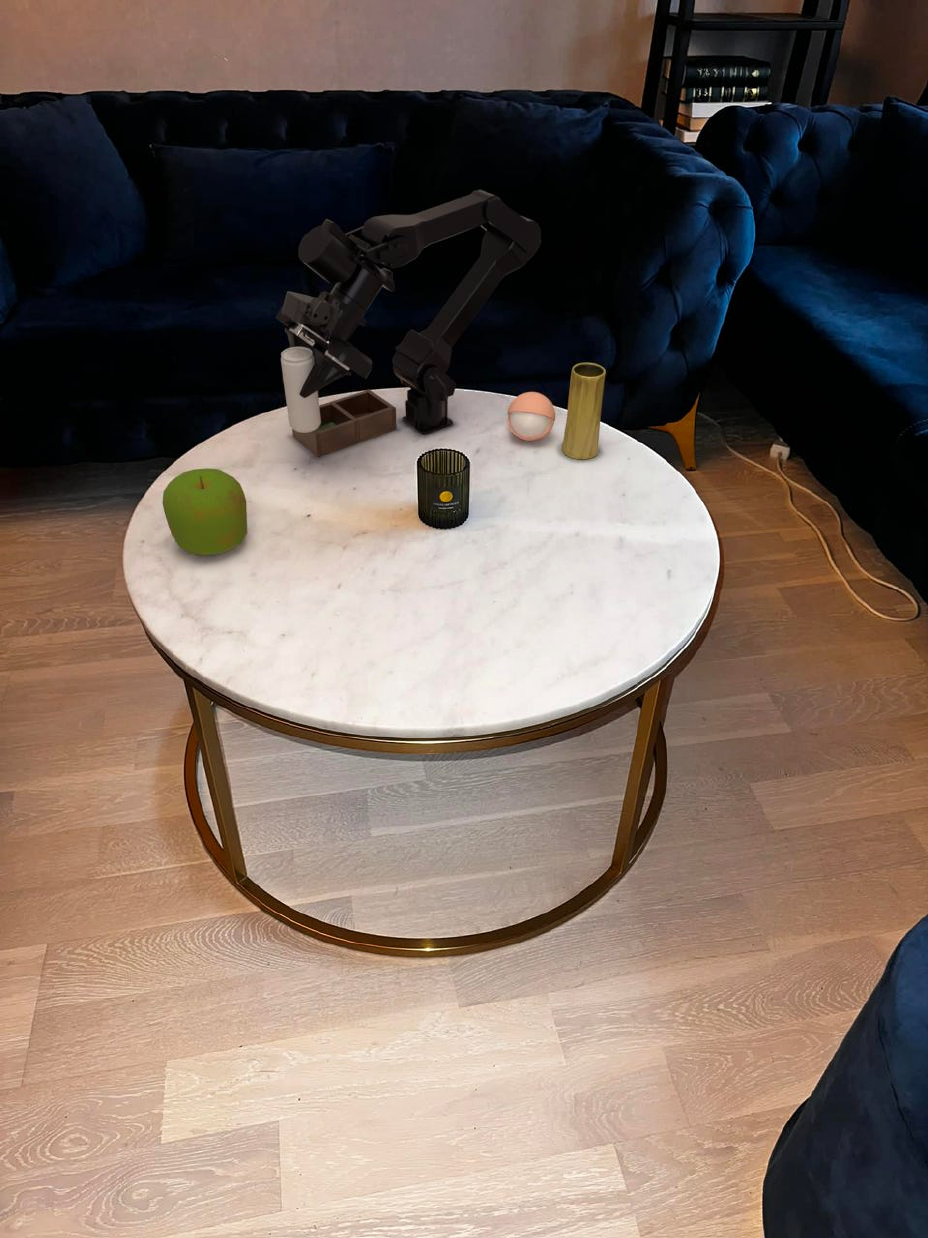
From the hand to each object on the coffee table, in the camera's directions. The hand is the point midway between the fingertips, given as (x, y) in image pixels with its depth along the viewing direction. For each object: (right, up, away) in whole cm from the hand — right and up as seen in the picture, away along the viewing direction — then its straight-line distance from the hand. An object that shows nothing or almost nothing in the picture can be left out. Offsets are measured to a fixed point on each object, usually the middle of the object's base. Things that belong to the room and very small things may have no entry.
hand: (293, 389), depth 140 cm
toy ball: (+37, -4, +18) cm, 41 cm away
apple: (-10, -23, -6) cm, 26 cm away
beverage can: (+1, -5, +5) cm, 7 cm away
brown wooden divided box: (+6, -3, +17) cm, 19 cm away
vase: (+45, -7, +15) cm, 47 cm away
